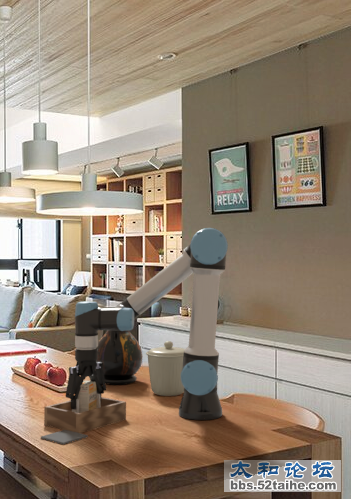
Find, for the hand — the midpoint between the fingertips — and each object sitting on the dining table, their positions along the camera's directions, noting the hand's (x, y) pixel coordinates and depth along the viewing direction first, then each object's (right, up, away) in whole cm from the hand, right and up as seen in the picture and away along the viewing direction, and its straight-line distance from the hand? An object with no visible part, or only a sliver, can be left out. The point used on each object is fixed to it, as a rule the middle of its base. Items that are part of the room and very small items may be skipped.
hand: (86, 415), depth 217 cm
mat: (-4, -2, -18) cm, 19 cm away
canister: (+27, -3, +45) cm, 52 cm away
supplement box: (0, -2, 0) cm, 2 cm away
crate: (0, -2, 0) cm, 2 cm away
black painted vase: (+4, -3, +68) cm, 69 cm away
